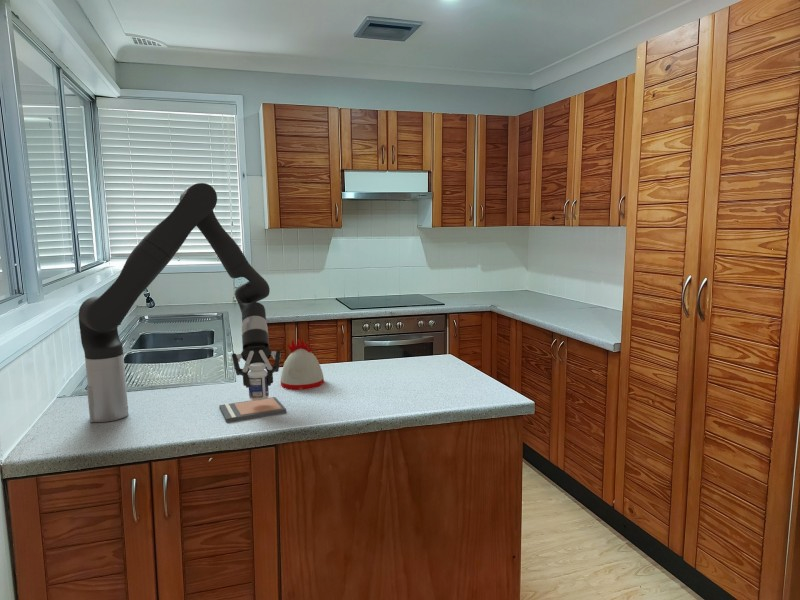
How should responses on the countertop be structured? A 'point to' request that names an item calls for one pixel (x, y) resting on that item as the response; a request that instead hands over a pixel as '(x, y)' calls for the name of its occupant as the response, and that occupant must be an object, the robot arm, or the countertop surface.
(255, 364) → the pill bottle
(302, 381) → the white and red dome
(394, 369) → the countertop surface
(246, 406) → the line mat
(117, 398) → the robot arm
